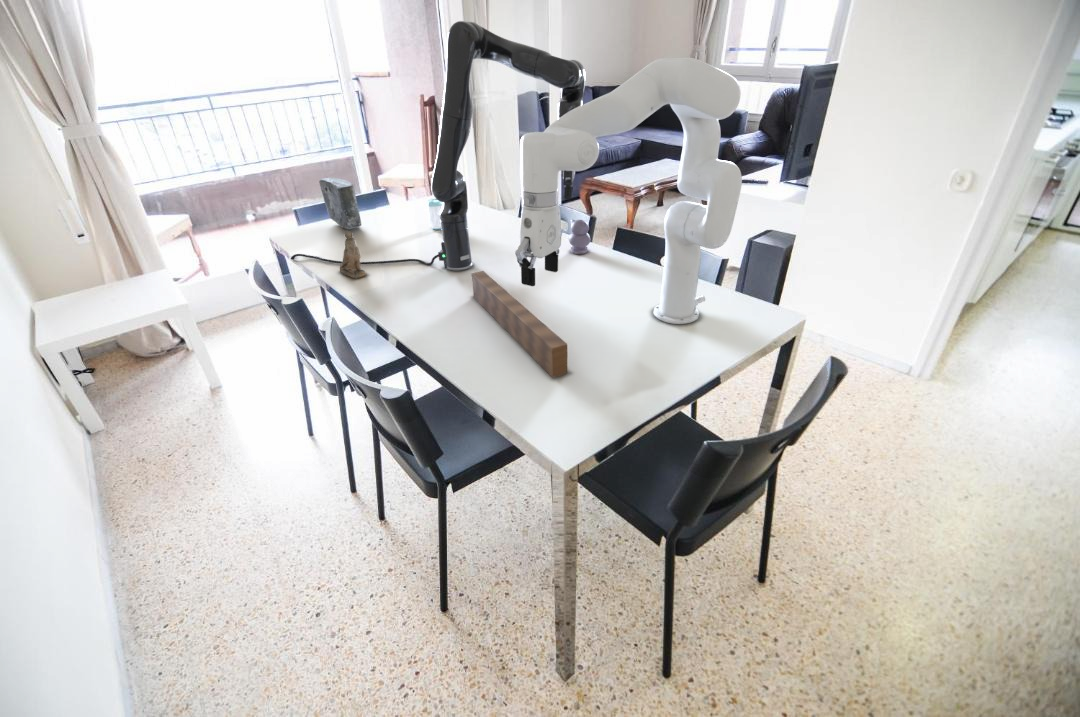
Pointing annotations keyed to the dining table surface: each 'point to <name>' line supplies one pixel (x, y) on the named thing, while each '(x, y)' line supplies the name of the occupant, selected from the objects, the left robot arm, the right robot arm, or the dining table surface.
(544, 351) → the post
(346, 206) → the concrete block
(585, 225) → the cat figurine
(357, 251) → the brown carved statuette
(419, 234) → the dining table surface
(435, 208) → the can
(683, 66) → the right robot arm
